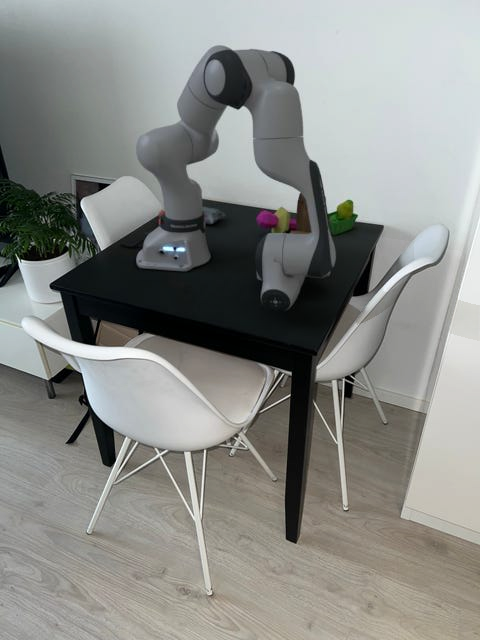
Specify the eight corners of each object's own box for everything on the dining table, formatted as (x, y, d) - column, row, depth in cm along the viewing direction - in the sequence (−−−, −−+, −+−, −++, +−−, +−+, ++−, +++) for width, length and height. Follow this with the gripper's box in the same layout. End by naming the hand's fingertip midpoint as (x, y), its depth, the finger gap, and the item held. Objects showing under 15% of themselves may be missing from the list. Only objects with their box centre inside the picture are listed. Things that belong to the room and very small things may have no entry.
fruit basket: (340, 222, 178) (343, 191, 172) (360, 230, 172) (364, 197, 166) (318, 230, 172) (320, 198, 166) (337, 238, 167) (340, 205, 160)
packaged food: (213, 229, 175) (212, 215, 172) (184, 223, 180) (183, 209, 177) (226, 221, 181) (225, 208, 179) (198, 215, 186) (197, 202, 184)
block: (323, 263, 151) (329, 198, 141) (298, 264, 151) (302, 199, 140) (316, 248, 160) (320, 185, 150) (292, 249, 160) (295, 186, 149)
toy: (310, 241, 167) (314, 210, 166) (261, 233, 160) (265, 200, 159) (295, 242, 176) (299, 212, 175) (248, 234, 169) (252, 203, 168)
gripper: (330, 265, 127) (336, 244, 138) (251, 256, 132) (263, 236, 143) (328, 287, 131) (334, 264, 142) (251, 278, 135) (263, 257, 147)
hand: (298, 250), depth 143 cm, fingers closed on maple block, 5 cm apart
